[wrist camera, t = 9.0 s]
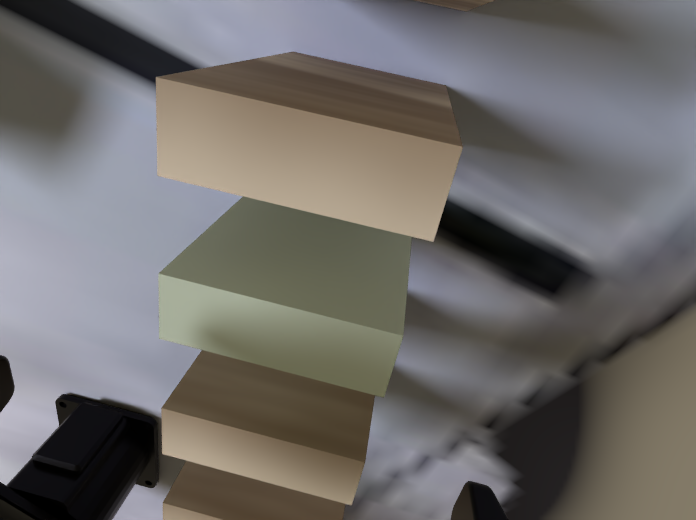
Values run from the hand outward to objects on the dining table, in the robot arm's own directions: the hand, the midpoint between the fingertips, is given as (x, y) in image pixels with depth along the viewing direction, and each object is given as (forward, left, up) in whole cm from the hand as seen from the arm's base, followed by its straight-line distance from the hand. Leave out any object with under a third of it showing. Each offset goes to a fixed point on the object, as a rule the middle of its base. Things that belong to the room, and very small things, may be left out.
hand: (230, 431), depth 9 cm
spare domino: (0, 0, -13) cm, 13 cm away
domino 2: (-5, 0, -13) cm, 14 cm away
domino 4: (+4, 0, -13) cm, 14 cm away
